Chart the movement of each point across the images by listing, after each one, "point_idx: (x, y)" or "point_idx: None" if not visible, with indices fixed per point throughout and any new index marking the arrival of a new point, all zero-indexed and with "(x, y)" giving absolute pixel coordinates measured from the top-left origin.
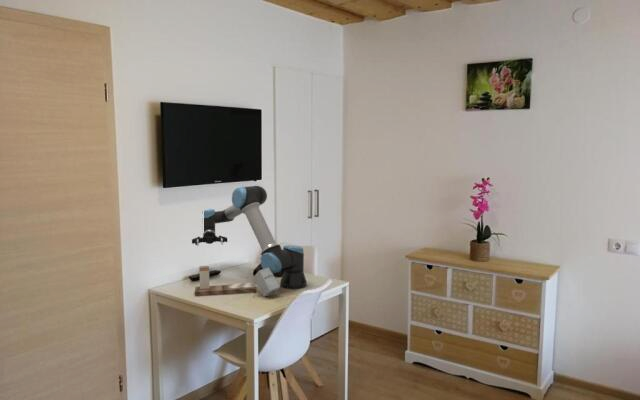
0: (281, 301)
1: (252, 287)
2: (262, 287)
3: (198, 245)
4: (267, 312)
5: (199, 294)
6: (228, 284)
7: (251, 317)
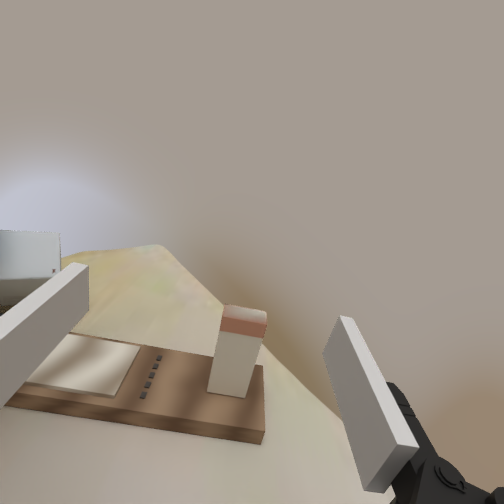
0: None
1: None
2: None
3: (325, 358)
4: (124, 248)
5: None
6: (116, 391)
7: (162, 247)
